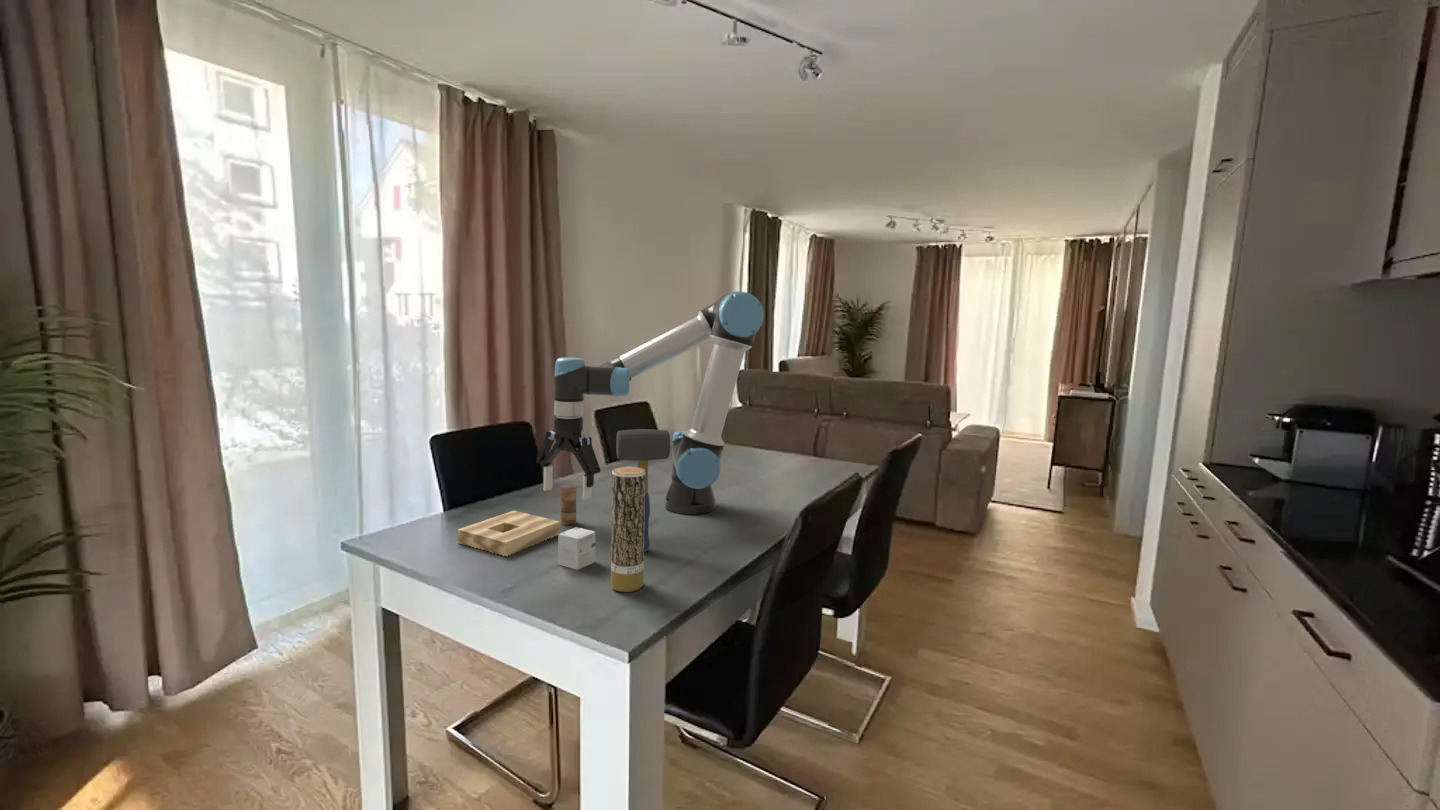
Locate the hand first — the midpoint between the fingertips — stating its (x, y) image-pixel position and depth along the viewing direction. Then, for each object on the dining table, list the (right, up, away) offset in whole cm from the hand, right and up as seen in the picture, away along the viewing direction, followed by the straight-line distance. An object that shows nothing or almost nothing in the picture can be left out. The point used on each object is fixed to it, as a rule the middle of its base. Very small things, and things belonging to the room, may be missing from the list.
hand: (567, 494), depth 168 cm
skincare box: (+8, -12, -25) cm, 30 cm away
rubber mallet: (+22, -12, -17) cm, 30 cm away
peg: (0, -8, +1) cm, 8 cm away
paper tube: (+22, -14, -37) cm, 45 cm away
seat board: (-11, -9, -12) cm, 19 cm away
